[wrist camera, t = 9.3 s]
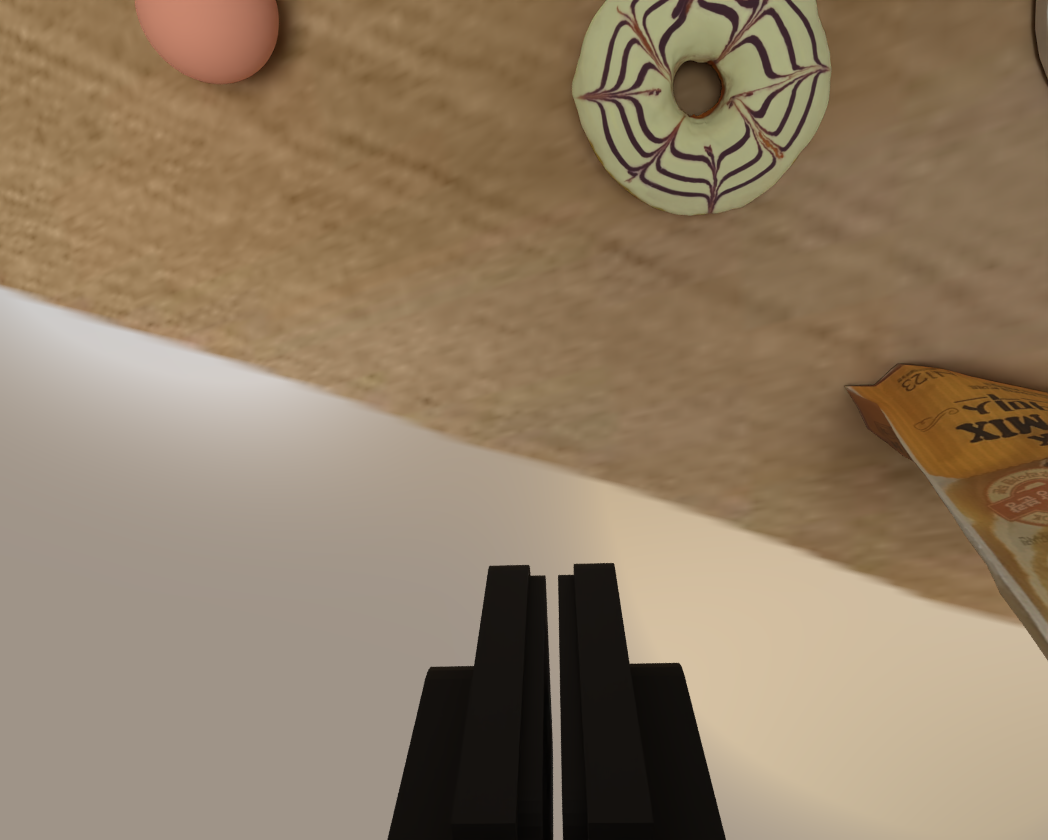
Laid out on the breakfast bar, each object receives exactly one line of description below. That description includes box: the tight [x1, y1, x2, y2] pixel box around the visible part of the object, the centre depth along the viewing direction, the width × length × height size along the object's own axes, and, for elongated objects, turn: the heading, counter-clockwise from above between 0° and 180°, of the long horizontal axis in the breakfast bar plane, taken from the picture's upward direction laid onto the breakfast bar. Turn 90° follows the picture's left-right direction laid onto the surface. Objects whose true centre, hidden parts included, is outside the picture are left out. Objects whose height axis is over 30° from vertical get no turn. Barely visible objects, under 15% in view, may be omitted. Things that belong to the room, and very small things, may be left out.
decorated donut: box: [572, 0, 831, 216], centre depth 32 cm, size 10×11×4 cm
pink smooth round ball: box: [135, 0, 279, 84], centre depth 30 cm, size 6×6×6 cm
